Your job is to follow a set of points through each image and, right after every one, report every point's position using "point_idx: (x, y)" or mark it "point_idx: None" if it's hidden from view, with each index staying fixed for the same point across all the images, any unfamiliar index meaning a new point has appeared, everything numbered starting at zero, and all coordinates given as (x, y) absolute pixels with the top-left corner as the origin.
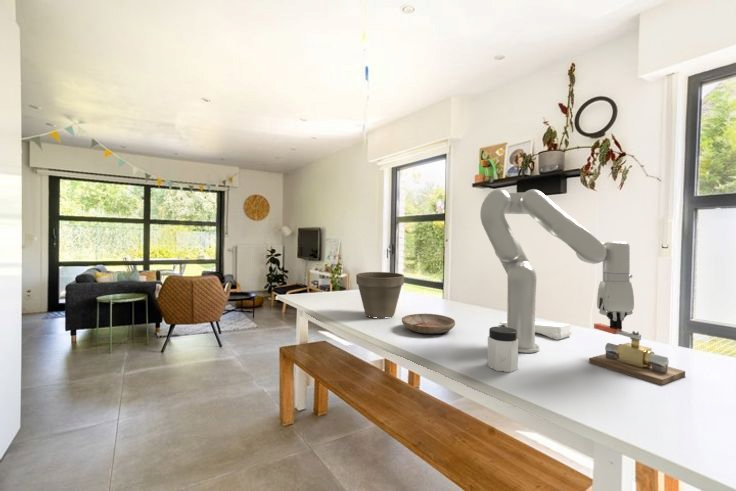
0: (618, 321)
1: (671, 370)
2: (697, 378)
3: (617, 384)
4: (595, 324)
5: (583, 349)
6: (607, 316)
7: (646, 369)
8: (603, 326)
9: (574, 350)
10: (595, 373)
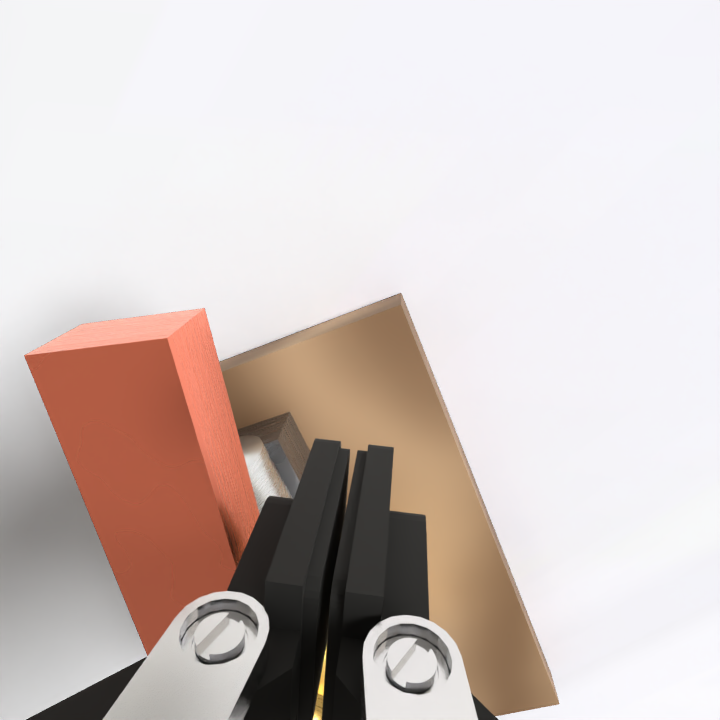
0: (322, 713)
1: (478, 685)
2: (587, 701)
3: (67, 689)
4: (42, 385)
5: (244, 37)
6: (91, 708)
7: None
8: (101, 543)
9: (120, 70)
10: (27, 573)
